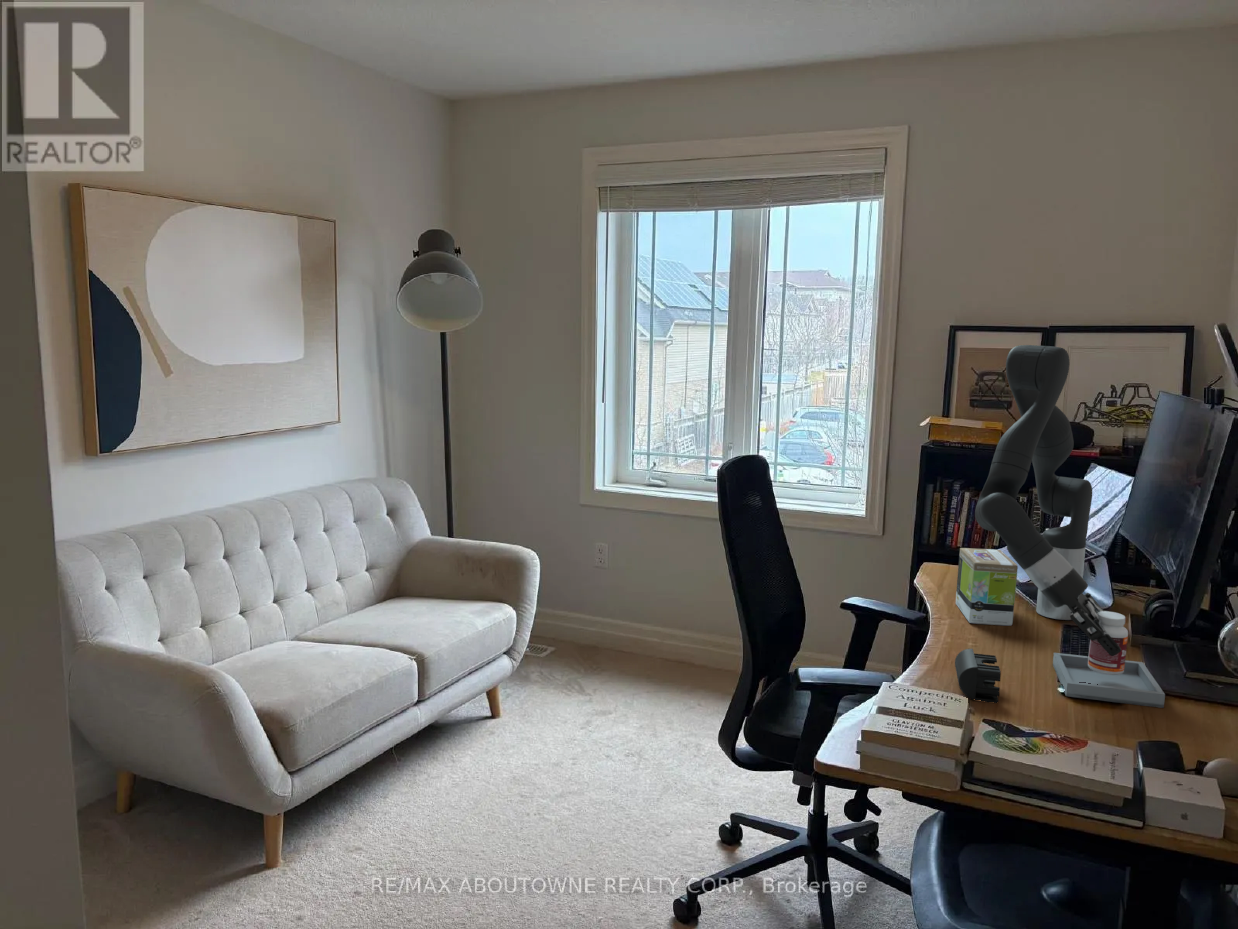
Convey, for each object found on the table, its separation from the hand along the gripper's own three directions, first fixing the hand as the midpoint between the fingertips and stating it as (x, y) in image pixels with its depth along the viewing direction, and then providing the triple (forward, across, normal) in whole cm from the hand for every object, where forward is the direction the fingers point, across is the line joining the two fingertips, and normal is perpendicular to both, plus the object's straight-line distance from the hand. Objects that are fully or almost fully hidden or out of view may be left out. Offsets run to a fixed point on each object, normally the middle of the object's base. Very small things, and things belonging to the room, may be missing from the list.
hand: (1118, 647), depth 166 cm
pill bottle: (+2, 0, +5) cm, 5 cm away
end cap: (-9, -17, +22) cm, 29 cm away
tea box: (-15, +31, +27) cm, 44 cm away
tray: (+5, 0, +7) cm, 8 cm away
